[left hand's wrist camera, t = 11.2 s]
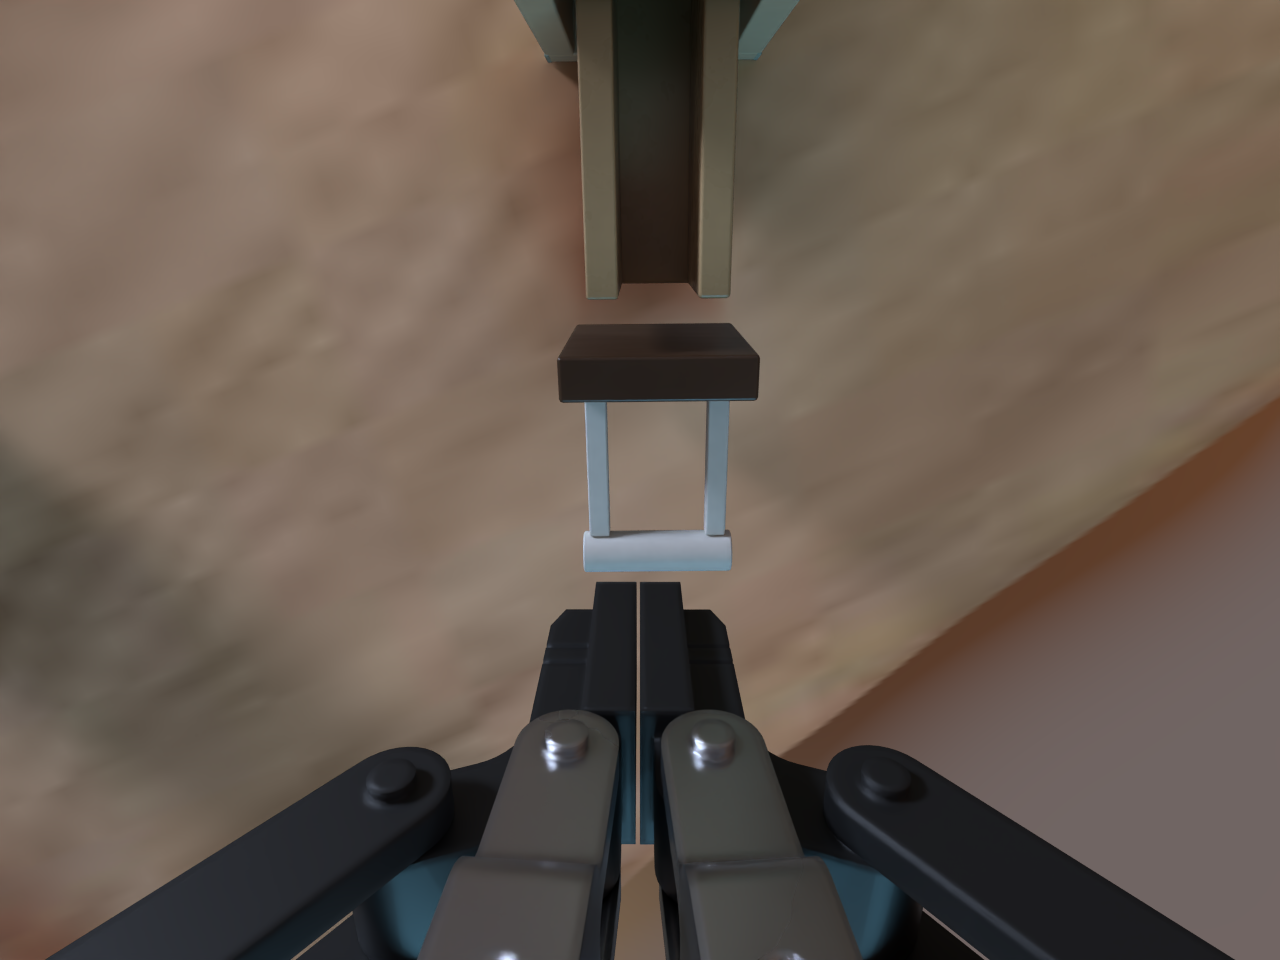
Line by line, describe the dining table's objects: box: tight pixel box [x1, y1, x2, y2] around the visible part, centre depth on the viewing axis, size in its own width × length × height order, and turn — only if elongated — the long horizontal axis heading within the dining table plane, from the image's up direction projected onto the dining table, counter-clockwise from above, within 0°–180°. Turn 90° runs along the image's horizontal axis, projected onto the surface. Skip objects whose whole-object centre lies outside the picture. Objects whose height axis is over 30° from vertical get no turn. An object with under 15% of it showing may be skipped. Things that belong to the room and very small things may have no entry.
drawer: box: [557, 0, 760, 572], centre depth 19 cm, size 22×5×6 cm, turn 1°
